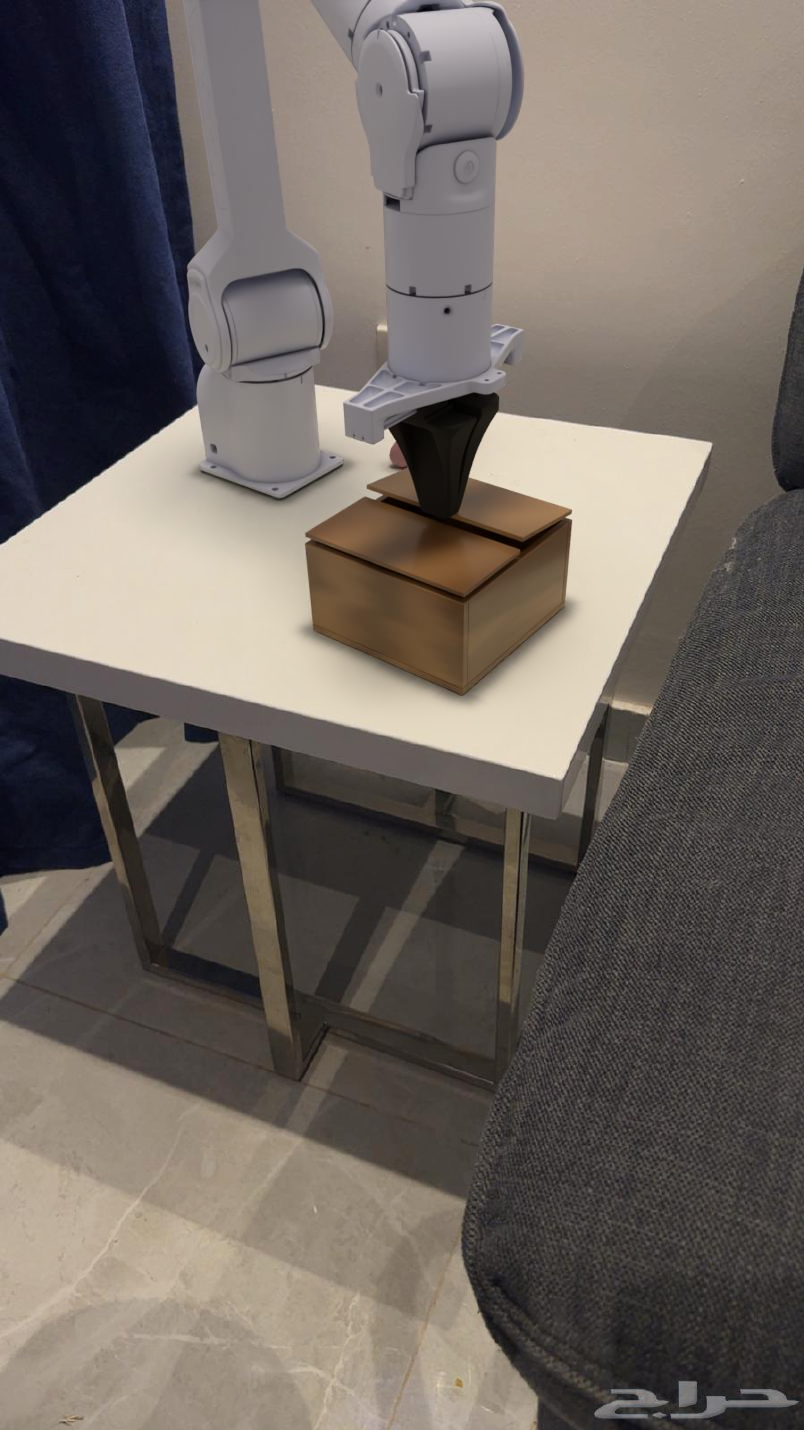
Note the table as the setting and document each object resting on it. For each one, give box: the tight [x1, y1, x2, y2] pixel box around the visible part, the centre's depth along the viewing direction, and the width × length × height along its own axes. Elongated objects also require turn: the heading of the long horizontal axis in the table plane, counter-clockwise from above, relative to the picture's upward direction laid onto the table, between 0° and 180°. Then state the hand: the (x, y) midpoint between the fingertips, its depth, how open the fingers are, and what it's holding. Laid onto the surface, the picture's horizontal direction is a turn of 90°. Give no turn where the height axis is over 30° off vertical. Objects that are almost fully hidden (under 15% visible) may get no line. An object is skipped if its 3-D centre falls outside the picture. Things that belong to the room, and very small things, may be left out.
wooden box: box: [304, 494, 573, 696], centre depth 66 cm, size 12×12×7 cm
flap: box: [366, 467, 573, 542], centre depth 66 cm, size 12×6×1 cm, turn 52°
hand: (439, 510), depth 64 cm, fingers closed
